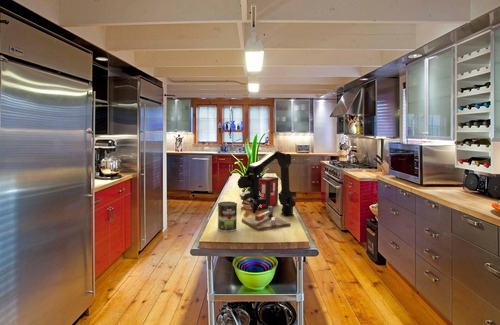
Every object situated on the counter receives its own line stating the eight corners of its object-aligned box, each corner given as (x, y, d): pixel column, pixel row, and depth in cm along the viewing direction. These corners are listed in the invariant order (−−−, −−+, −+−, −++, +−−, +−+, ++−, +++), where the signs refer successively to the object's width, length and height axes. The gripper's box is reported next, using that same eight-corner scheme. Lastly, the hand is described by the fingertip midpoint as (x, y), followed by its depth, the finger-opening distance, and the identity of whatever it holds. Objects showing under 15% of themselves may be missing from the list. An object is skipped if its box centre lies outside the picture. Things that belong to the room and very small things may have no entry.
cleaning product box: (266, 203, 232) (267, 176, 230) (277, 204, 227) (278, 177, 225) (255, 207, 218) (256, 179, 216) (266, 209, 213) (267, 180, 211)
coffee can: (238, 231, 166) (239, 205, 165) (219, 232, 163) (219, 206, 162) (234, 225, 176) (234, 200, 175) (216, 226, 173) (216, 201, 172)
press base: (272, 217, 194) (272, 214, 194) (290, 225, 177) (290, 223, 177) (241, 221, 185) (241, 218, 185) (257, 230, 167) (257, 228, 167)
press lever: (269, 215, 192) (269, 205, 192) (273, 216, 191) (273, 206, 190) (254, 223, 175) (254, 212, 174) (259, 224, 174) (259, 213, 173)
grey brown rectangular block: (271, 222, 178) (271, 217, 178) (275, 222, 178) (275, 217, 178) (271, 225, 172) (271, 220, 172) (274, 225, 172) (274, 220, 172)
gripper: (234, 184, 183) (234, 210, 185) (249, 190, 166) (248, 219, 168) (251, 183, 188) (251, 208, 190) (267, 188, 172) (266, 216, 173)
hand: (253, 213), depth 180 cm, fingers closed
